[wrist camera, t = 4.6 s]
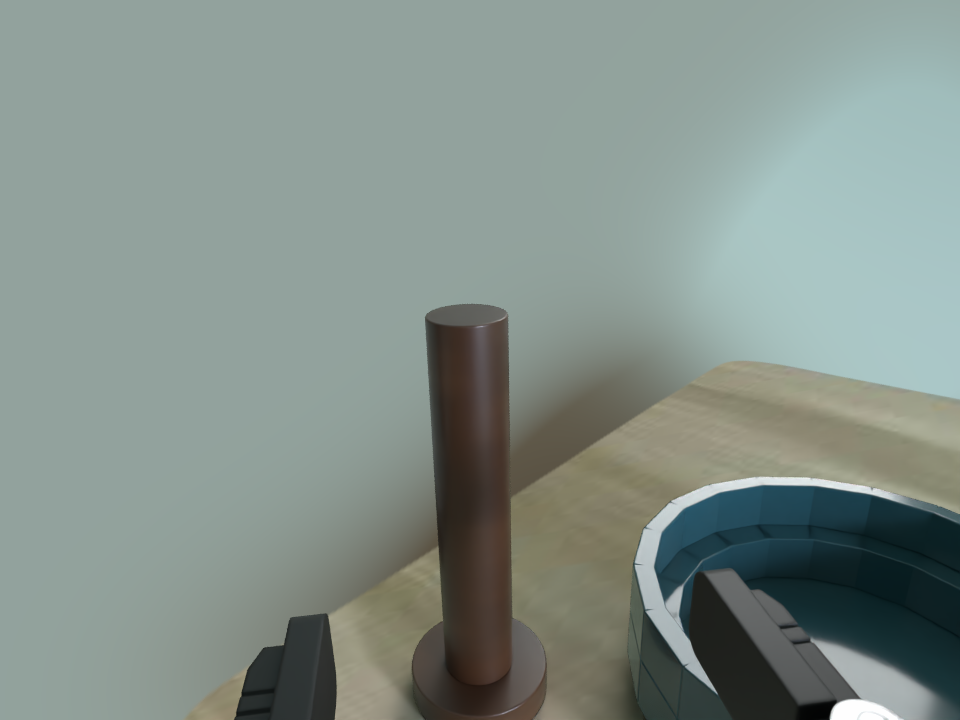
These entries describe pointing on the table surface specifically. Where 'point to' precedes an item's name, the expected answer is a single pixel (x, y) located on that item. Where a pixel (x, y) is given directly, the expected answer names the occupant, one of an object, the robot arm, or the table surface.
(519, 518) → the table surface
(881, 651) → the bowl
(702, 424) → the table surface
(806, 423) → the table surface
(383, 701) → the table surface
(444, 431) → the brown post with base
